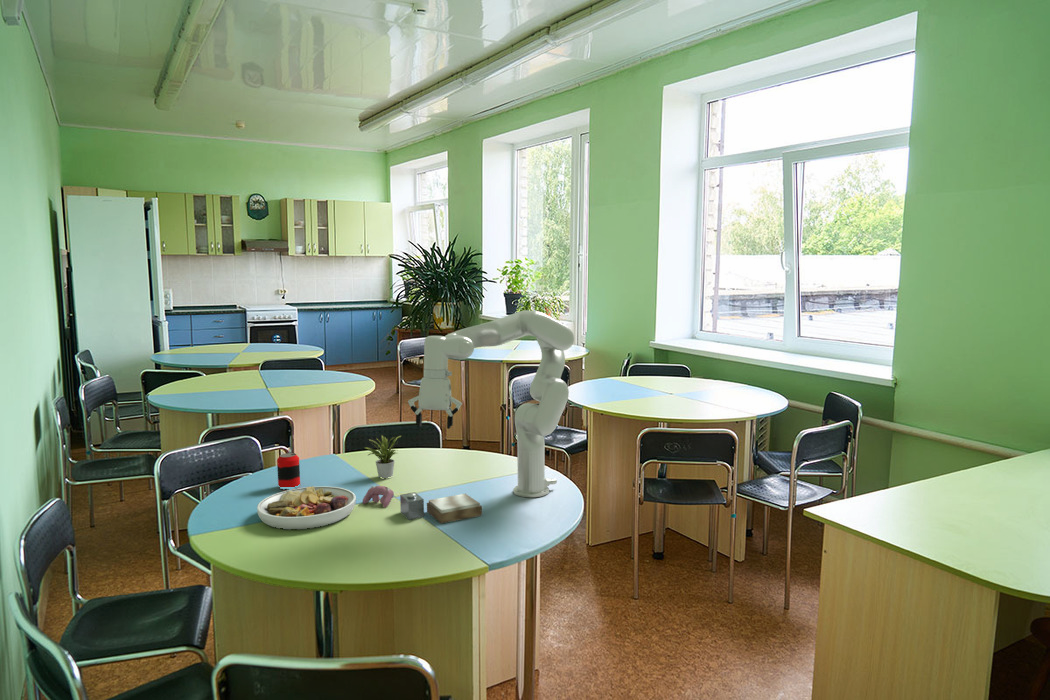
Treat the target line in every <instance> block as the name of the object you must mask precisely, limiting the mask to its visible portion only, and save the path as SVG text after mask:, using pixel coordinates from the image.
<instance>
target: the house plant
mask: <svg viewBox="0 0 1050 700" xmlns="http://www.w3.org/2000/svg"><path fill="white" fill-rule="evenodd" d="M399 438H401V435H399V436H394V437H391V438H390V440H388V439H387V438H386V436H384V435H381V441H380V439H378V438H376V440H377V441H378V442H379V443H378V442H377V441H376V440H373V439H367V440H369V441H370V442H372V444H373V443H374V444H373V445H374V447H376V448H377V450H376V449H374V448H371V447H364V449H366V450H368V451H369V452H371V453H368V454H367V456H370V455H374V456H376V457H377V458H378V460H376V461H375V466H376V470H377V475H378V478H379V477H382V478H388V477H391V476H394V470H395V469H394V468H395V459H392V457H393V456H394V455H396V454H397V452H396V451H397V449H394V446H396V445H397V443H396V441H397V440H398V439H399ZM390 442H391V443H390ZM389 445H390V446H389Z"/></svg>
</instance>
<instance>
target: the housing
mask: <svg viewBox="0 0 1050 700" xmlns="http://www.w3.org/2000/svg"><path fill="white" fill-rule="evenodd" d="M399 501H400V502H399V503H400V514H402V515H403V516H404V517H405V518H406V519H407V520H408V521H412V520H416V518H418V519H422V517H423V518H425V507H424V506H425V504H424V503H425V500H424V498H423V497H421V496H420V495H419V494H418V493H417V492H415V491H414V492H408V493H401V494H399ZM411 519H412V520H411Z"/></svg>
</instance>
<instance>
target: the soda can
mask: <svg viewBox="0 0 1050 700" xmlns="http://www.w3.org/2000/svg"><path fill="white" fill-rule="evenodd" d="M276 466H277V468H276V469H277V470H276V471H277V486H278V485H279V486H280V487H295V486H298V485H299V484H300V485H301V473H300V471H301V470H300V468H301V467H300V457H299V456H298V455H297V454H296V452H295V453H292V452H287V453H286V452H285V453H282V454H279V456H278V457H277V459H276Z"/></svg>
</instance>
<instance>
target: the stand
mask: <svg viewBox="0 0 1050 700" xmlns="http://www.w3.org/2000/svg"><path fill="white" fill-rule="evenodd" d="M426 513H427V514H429V515H430V516H431V515H432V516H433V517H432V516H431V517H432V518H434V519H435V520H436V521H437V520H438V521H439V522H438V521H437V522H438V523H440V524H441V523H442V524H445V522H447V523H451V522H450V521H452V522H456V520H457V521H460V520H461V521H462V520H467V519H470V518H471V519H472V518H476V517H481V515H482V516H483V507H482V505H481V503H480V502H479V501H478V500H477V499H474V498H473V497H472V496H471V495H468V494H467V493H461V494H455V495H450V496H445V497H438V498H433V499H428V502H426Z"/></svg>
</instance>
